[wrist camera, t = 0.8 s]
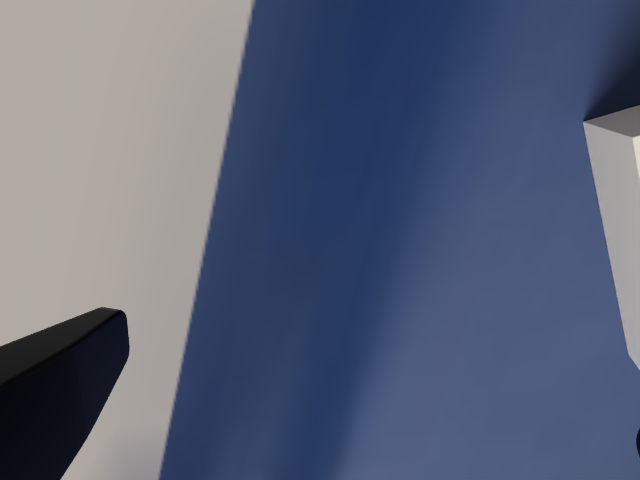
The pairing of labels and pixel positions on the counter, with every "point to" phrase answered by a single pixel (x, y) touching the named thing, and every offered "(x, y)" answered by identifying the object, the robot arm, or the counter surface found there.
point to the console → (620, 208)
